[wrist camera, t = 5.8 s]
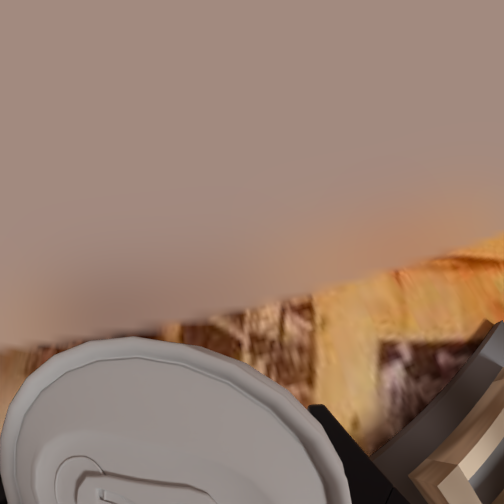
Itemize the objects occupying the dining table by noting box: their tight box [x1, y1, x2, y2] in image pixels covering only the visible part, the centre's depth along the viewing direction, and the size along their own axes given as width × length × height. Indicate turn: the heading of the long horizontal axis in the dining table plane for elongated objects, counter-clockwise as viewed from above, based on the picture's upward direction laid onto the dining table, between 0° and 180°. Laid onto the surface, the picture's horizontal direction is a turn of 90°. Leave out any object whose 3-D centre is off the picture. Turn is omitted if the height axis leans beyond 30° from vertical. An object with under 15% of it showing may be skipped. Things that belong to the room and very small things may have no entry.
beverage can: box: [0, 336, 352, 504], centre depth 7 cm, size 5×5×12 cm
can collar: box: [369, 320, 504, 504], centre depth 9 cm, size 15×15×4 cm
